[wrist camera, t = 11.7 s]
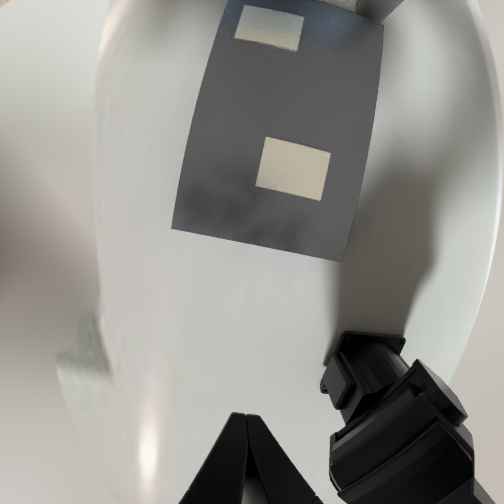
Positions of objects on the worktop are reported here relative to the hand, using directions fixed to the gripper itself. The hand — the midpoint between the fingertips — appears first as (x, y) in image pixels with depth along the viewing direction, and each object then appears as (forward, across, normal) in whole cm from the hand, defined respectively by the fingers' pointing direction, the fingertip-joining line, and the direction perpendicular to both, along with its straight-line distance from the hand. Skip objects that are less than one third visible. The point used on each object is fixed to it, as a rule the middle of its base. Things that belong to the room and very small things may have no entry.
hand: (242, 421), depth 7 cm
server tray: (+13, 0, -12) cm, 18 cm away
